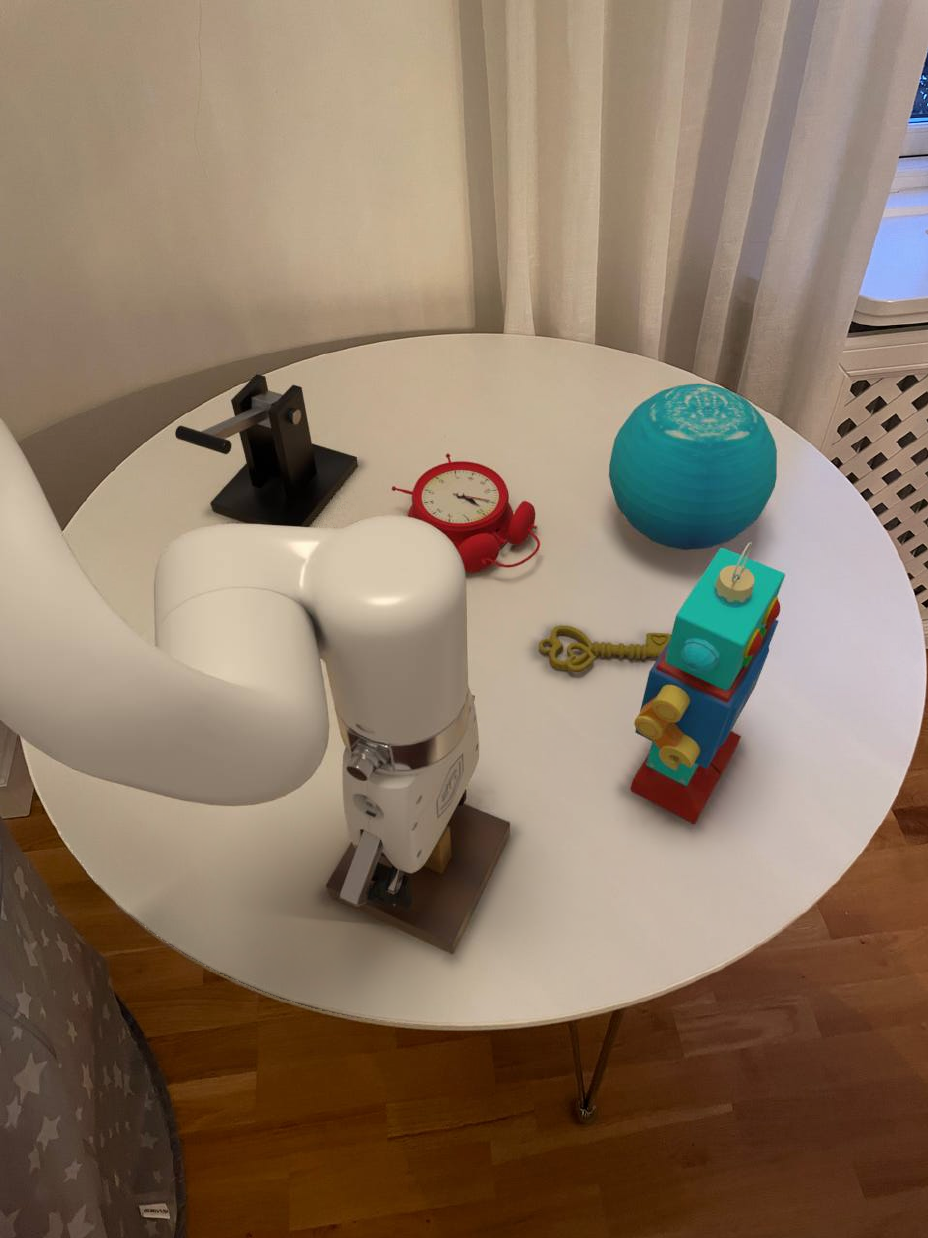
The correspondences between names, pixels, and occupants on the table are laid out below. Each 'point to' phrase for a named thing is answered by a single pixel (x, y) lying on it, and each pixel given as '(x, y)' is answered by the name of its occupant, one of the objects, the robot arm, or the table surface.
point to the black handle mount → (281, 465)
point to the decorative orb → (693, 466)
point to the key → (597, 648)
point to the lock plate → (440, 881)
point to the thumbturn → (440, 853)
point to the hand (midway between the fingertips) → (418, 844)
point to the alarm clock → (471, 511)
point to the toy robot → (705, 681)
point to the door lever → (231, 425)
